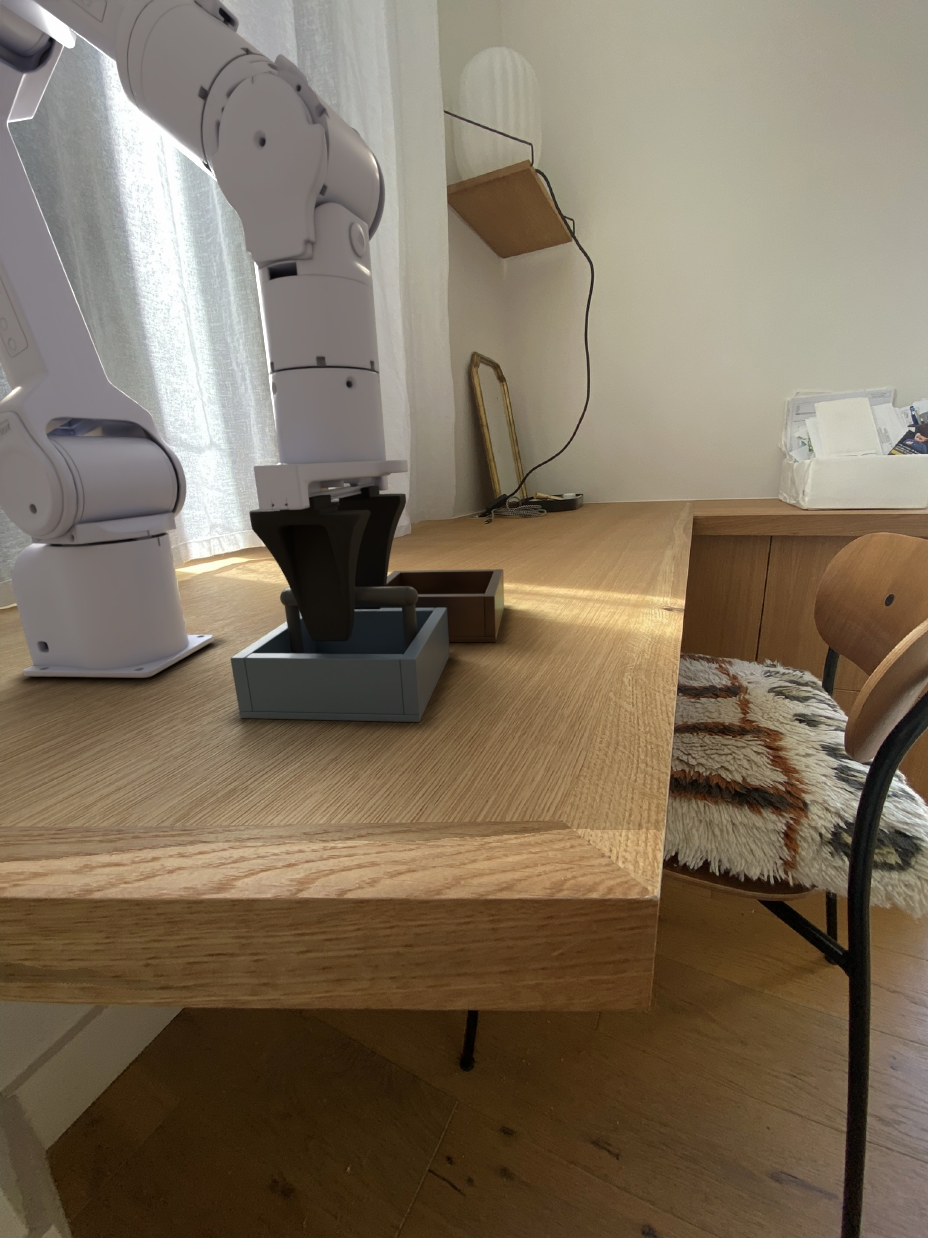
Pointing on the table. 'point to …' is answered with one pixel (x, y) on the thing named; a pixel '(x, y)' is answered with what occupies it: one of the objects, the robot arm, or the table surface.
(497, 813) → the table surface
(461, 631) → the bottom basket
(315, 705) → the blue-gray basket with handle
